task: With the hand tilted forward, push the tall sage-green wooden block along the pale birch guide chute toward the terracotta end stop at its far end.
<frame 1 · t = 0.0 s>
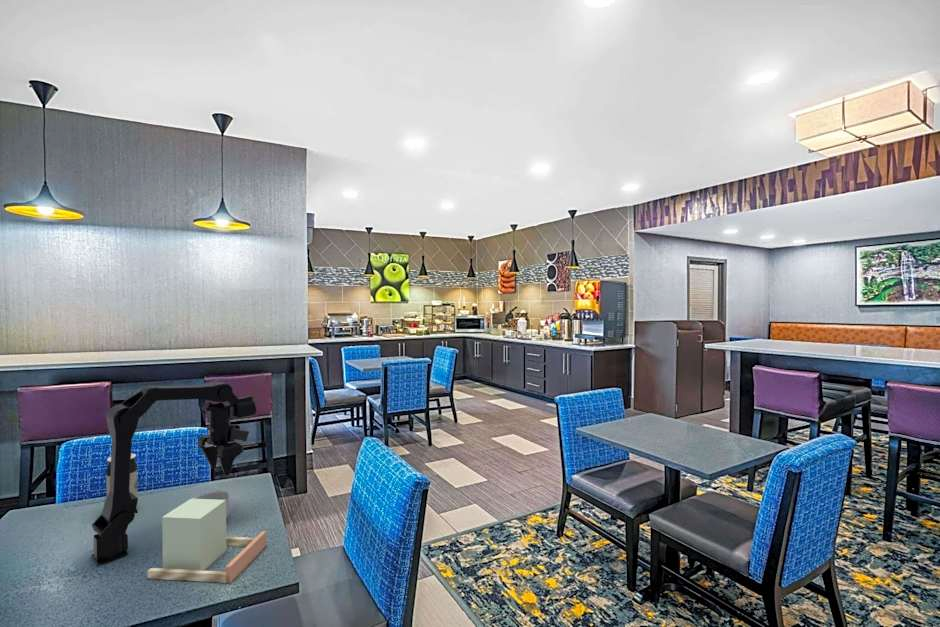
hand: (220, 471, 146), 15 cm above the table, tool pointing down, fingers open, 9 cm apart
guide chute: (210, 560, 123), on the table
travel mug: (122, 512, 150), on the table
sage block: (195, 560, 123), on the table
teacup: (212, 521, 145), on the table
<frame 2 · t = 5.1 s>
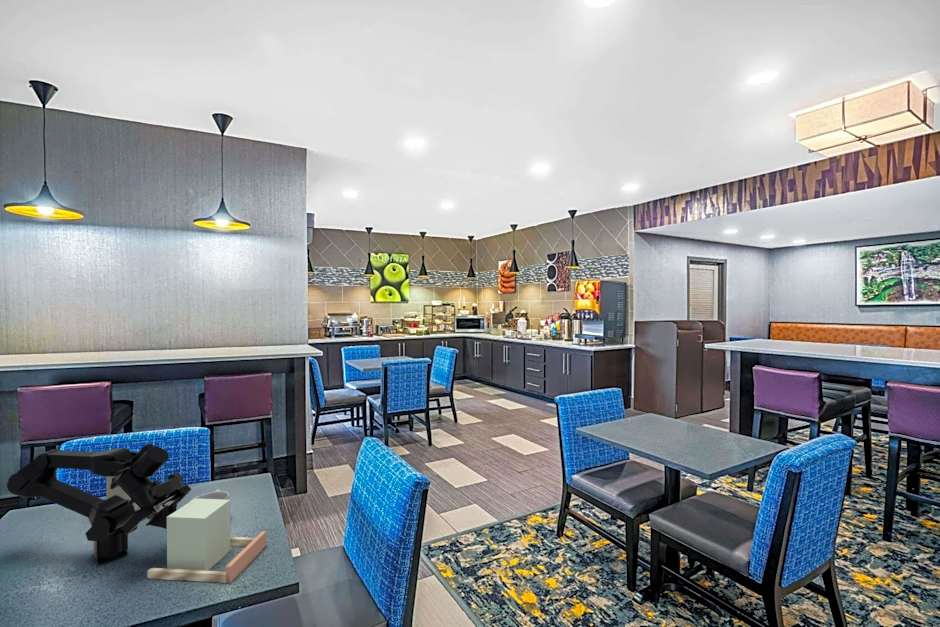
hand: (180, 530, 123), 8 cm above the table, tool tilted 45°, fingers closed, pressing on sage block
sage block: (200, 560, 123), on the table, touching gripper
everything else where it was.
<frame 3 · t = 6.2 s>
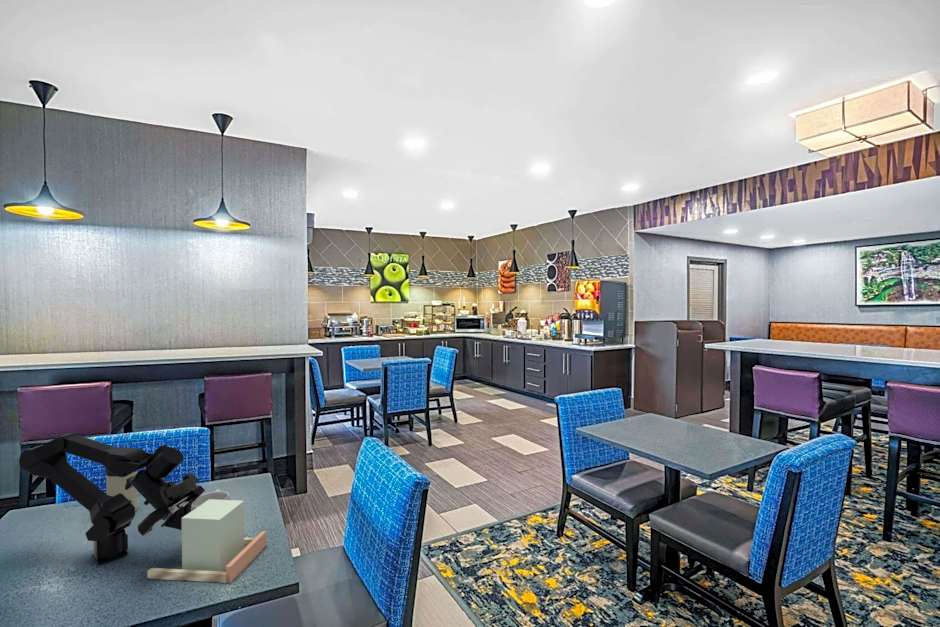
hand: (195, 531, 123), 8 cm above the table, tool tilted 45°, fingers closed, pressing on sage block
sage block: (214, 561, 123), on the table, touching gripper
everything else where it was.
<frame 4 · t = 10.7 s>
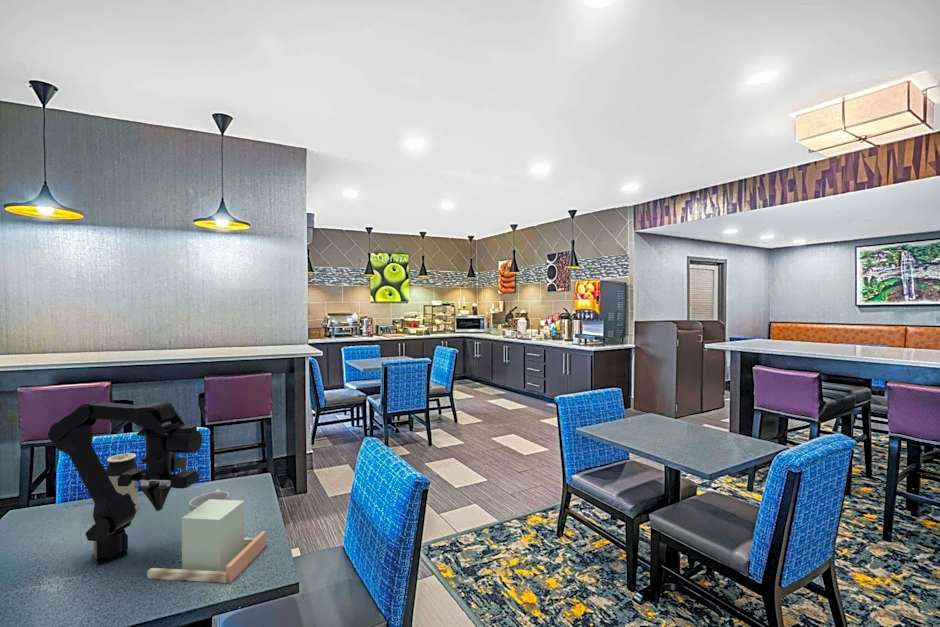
hand: (159, 510, 123), 13 cm above the table, tool pointing down, fingers closed
sage block: (214, 561, 123), on the table
everything else where it was.
at the end: sage block inside the target area (1.7 cm from its centre), on the table; sage block moved 5.2 cm from its start; sage block tilted 0° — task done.
